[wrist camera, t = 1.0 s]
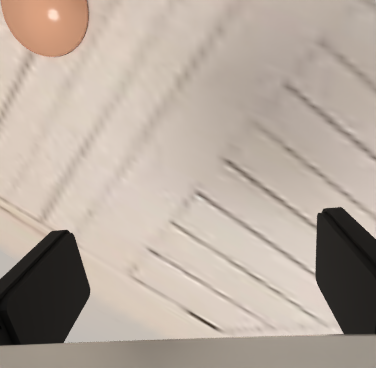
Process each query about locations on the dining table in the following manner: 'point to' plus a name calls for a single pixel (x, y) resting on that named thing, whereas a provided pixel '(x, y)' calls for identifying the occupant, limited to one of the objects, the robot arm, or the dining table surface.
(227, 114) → the dining table surface
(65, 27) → the peach smooth round part
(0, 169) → the dining table surface
